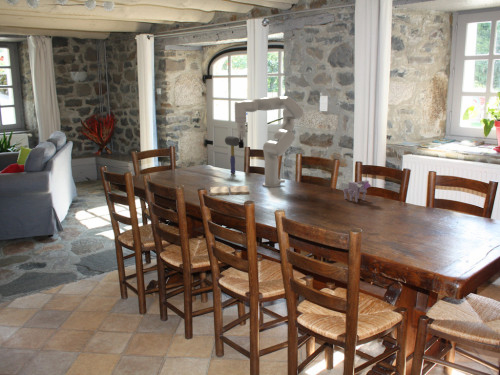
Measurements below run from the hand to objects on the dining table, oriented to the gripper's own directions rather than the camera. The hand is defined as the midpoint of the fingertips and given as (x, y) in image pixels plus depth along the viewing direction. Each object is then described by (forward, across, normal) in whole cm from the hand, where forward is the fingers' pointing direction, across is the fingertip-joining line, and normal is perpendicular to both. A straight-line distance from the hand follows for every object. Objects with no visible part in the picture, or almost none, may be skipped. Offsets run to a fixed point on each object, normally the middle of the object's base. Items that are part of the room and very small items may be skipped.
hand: (241, 147), depth 331 cm
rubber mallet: (+29, +60, +2) cm, 67 cm away
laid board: (+29, -2, +2) cm, 29 cm away
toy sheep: (+29, -40, -68) cm, 85 cm away
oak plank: (+29, -2, +16) cm, 33 cm away
